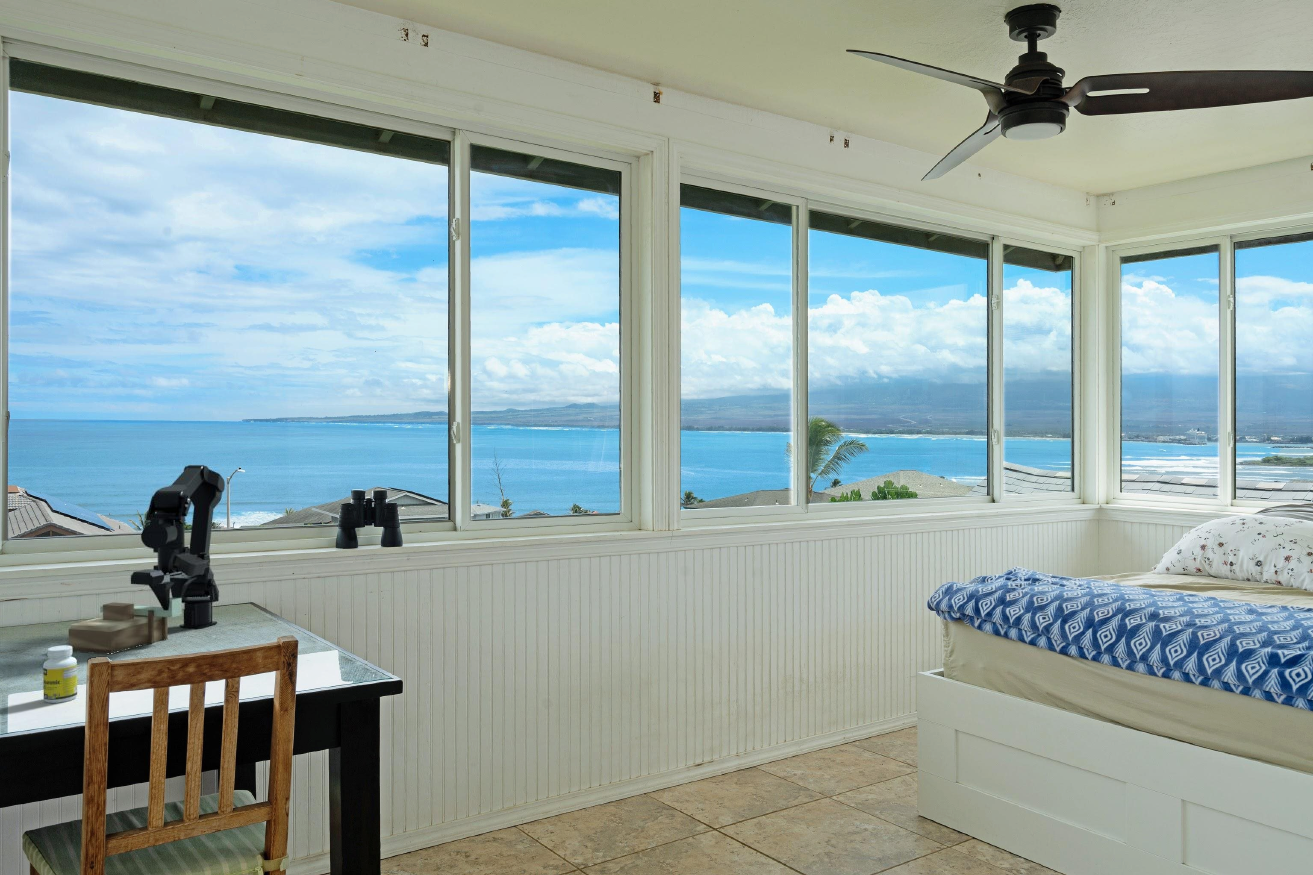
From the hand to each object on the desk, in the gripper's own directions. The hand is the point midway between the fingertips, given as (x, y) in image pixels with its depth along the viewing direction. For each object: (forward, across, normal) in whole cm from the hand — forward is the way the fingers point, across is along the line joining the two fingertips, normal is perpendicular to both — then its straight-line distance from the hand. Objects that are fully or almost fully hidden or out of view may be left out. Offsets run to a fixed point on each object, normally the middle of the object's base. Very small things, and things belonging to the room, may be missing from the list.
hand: (171, 608), depth 223 cm
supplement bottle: (+8, -43, -15) cm, 46 cm away
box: (+8, -5, +10) cm, 14 cm away
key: (+2, 0, +9) cm, 9 cm away
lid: (+3, -5, +10) cm, 12 cm away
